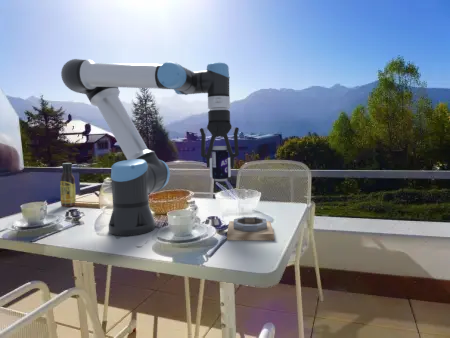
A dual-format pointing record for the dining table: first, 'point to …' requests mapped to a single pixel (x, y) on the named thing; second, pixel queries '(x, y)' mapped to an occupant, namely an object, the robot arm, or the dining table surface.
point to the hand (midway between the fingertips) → (220, 176)
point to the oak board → (250, 233)
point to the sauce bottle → (67, 186)
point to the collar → (250, 224)
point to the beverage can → (220, 163)
